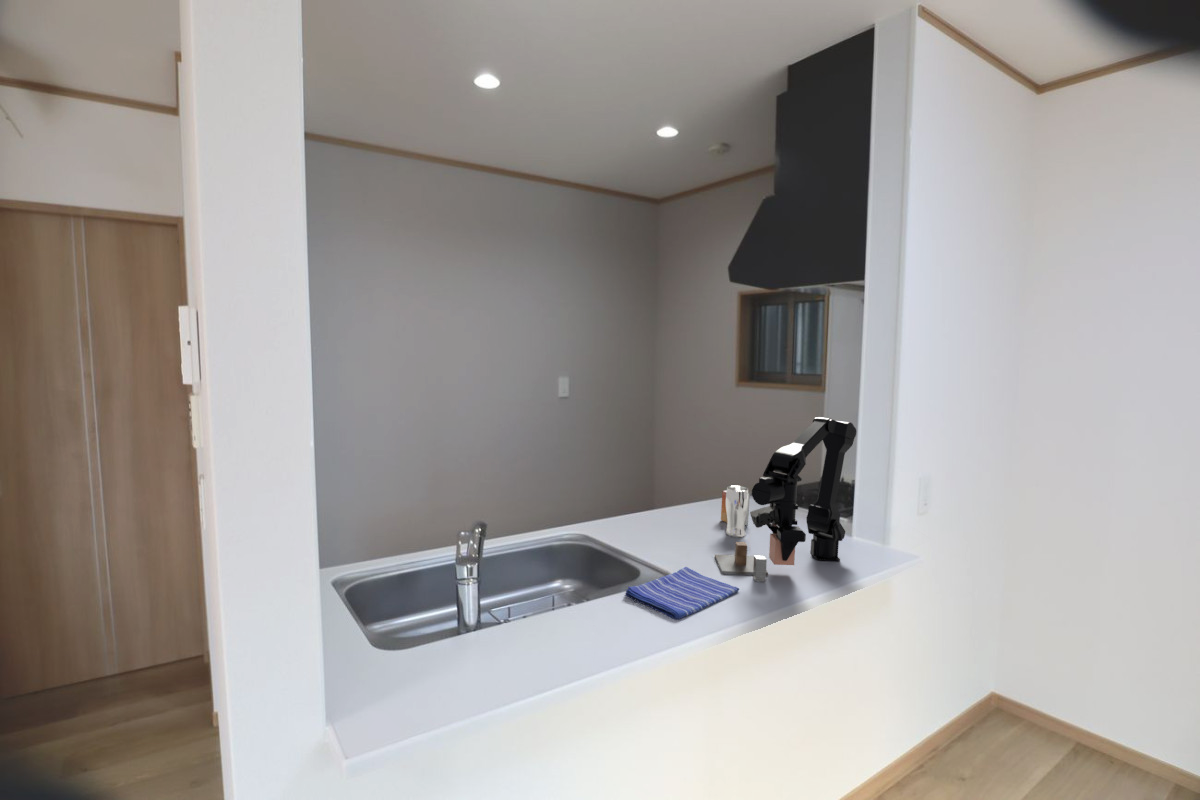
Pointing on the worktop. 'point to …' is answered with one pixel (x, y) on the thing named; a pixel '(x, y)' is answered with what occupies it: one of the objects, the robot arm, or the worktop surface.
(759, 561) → the post steel
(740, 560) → the plate
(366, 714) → the worktop surface
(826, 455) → the robot arm
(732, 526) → the beer glass
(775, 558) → the salmon pink block
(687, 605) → the dish towel
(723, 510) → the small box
